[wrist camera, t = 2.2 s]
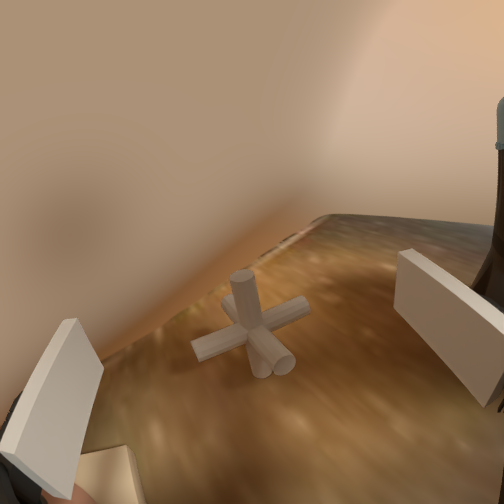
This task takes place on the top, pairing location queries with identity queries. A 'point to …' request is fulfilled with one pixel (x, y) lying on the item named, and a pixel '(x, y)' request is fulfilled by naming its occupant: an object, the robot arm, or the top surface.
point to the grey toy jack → (253, 328)
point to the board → (105, 479)
